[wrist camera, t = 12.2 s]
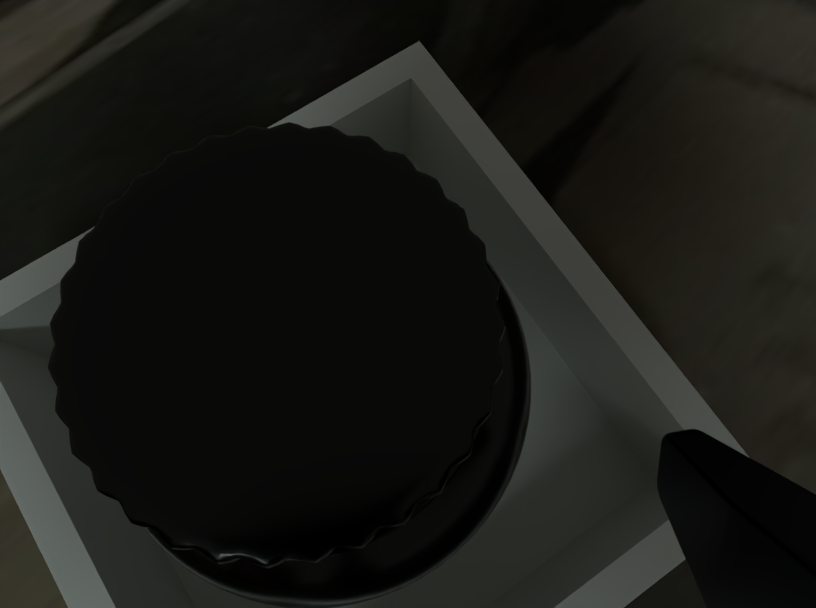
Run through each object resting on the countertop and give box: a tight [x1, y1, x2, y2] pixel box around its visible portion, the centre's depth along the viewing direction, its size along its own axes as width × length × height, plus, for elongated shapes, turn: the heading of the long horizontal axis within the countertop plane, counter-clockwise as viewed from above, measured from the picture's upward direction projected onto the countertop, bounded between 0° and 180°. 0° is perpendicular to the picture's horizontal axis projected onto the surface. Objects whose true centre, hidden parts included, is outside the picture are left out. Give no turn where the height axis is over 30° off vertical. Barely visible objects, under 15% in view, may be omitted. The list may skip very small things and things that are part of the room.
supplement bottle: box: [48, 122, 531, 608], centre depth 12 cm, size 7×7×12 cm
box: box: [0, 41, 749, 608], centre depth 17 cm, size 14×14×5 cm
